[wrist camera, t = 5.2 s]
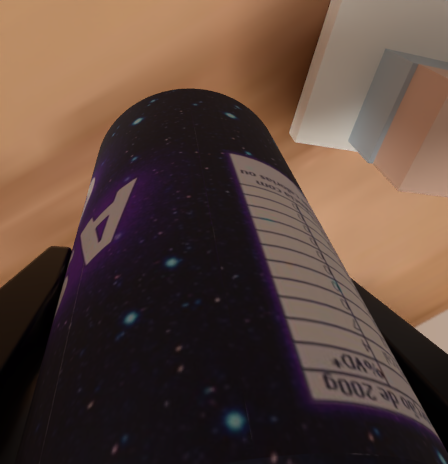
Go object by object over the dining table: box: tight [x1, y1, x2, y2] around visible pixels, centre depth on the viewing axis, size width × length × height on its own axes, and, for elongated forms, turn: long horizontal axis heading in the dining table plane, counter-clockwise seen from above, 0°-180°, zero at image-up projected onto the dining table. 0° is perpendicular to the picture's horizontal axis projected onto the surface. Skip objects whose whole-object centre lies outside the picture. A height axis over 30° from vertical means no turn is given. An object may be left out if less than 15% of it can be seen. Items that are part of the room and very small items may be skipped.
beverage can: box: [15, 89, 448, 464], centre depth 9 cm, size 6×6×12 cm
